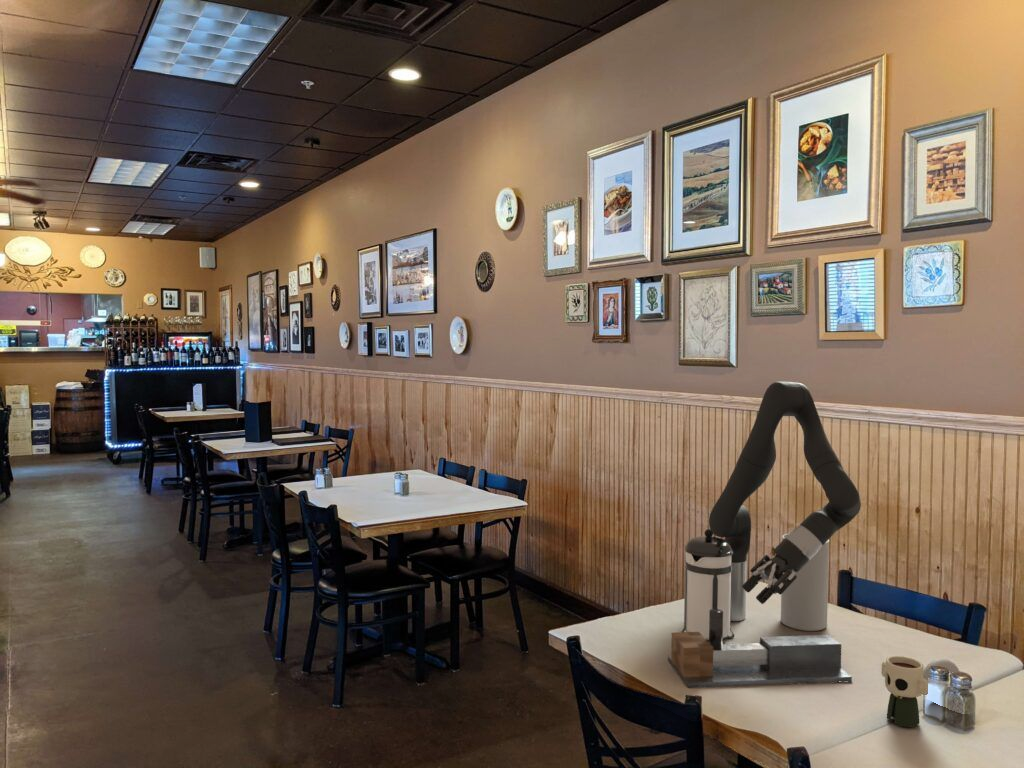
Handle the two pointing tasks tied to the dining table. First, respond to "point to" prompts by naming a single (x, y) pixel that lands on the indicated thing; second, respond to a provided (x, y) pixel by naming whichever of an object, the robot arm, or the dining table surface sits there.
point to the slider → (733, 646)
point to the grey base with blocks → (781, 664)
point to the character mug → (904, 688)
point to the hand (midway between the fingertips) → (751, 595)
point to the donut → (942, 663)
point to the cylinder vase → (808, 594)
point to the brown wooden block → (692, 654)
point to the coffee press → (707, 583)
